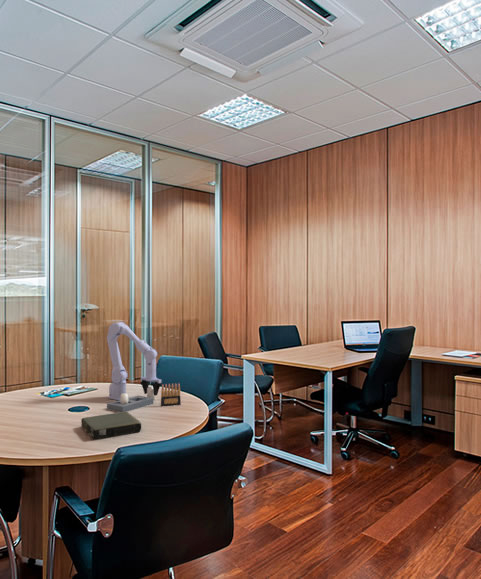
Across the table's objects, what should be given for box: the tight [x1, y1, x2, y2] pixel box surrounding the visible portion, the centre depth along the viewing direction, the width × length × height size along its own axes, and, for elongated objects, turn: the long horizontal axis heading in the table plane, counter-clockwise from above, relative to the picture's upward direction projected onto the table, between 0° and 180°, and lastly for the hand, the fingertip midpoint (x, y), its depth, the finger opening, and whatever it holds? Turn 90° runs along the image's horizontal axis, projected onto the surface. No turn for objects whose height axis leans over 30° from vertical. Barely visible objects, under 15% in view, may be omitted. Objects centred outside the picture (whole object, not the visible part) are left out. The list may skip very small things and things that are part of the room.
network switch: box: [80, 411, 142, 441], centre depth 194 cm, size 23×23×5 cm
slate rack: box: [106, 392, 154, 413], centre depth 235 cm, size 12×22×8 cm, turn 147°
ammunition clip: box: [160, 382, 182, 407], centre depth 238 cm, size 11×2×12 cm, turn 109°
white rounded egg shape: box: [146, 386, 155, 401], centre depth 250 cm, size 4×4×7 cm
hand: (150, 394), depth 250 cm, fingers open, 7 cm apart
